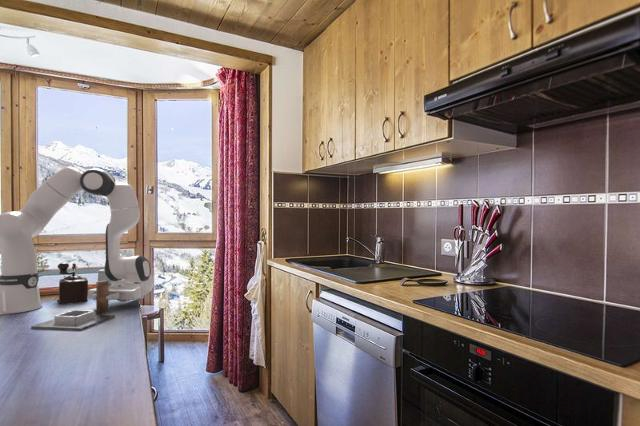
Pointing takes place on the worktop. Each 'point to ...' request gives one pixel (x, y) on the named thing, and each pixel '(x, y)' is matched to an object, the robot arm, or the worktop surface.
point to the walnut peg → (102, 297)
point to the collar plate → (74, 321)
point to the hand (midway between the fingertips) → (100, 297)
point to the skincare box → (105, 278)
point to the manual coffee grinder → (72, 286)
